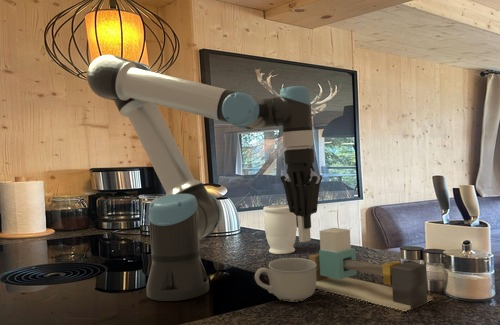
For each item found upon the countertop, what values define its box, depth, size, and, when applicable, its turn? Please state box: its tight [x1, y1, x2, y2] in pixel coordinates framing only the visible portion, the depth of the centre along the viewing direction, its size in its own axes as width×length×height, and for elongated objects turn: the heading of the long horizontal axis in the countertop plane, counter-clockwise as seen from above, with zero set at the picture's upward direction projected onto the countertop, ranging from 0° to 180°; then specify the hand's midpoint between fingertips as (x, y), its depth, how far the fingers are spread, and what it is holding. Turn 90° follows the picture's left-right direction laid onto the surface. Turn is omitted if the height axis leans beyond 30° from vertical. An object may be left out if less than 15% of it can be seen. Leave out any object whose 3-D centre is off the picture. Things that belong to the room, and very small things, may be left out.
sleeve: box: [318, 227, 358, 280], centre depth 111 cm, size 6×6×10 cm
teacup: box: [254, 257, 317, 301], centre depth 105 cm, size 14×11×8 cm
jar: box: [263, 203, 298, 255], centre depth 153 cm, size 11×10×15 cm
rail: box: [308, 252, 434, 311], centre depth 105 cm, size 10×28×8 cm, turn 38°
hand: (304, 240), depth 119 cm, fingers closed
